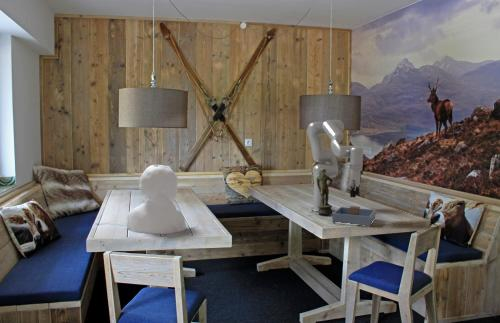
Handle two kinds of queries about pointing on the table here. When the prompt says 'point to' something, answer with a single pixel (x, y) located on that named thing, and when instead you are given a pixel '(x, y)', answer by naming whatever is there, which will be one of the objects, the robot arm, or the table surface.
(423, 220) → the table surface
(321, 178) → the statue
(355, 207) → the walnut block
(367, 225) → the slate bin
